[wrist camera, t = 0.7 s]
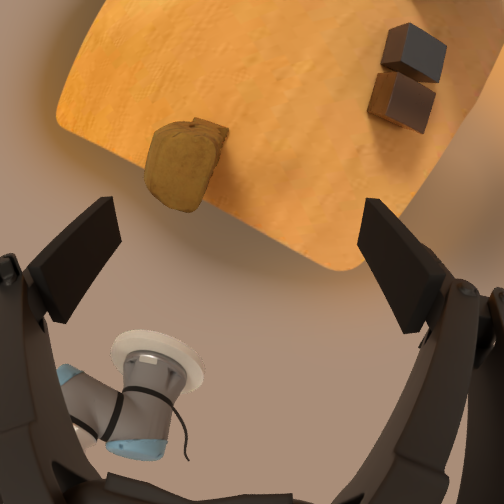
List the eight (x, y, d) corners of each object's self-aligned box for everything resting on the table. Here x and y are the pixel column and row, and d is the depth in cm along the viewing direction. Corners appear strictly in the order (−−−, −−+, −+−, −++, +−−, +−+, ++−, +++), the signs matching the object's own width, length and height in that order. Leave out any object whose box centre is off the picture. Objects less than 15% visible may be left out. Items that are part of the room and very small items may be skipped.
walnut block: (402, 127, 33) (423, 134, 28) (366, 111, 32) (384, 115, 27) (413, 90, 30) (436, 93, 25) (377, 72, 29) (397, 71, 24)
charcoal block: (415, 82, 29) (438, 83, 24) (380, 63, 28) (400, 60, 23) (424, 48, 26) (447, 46, 21) (389, 29, 25) (409, 22, 20)
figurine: (217, 171, 37) (196, 217, 24) (172, 157, 36) (128, 196, 23) (234, 123, 34) (220, 142, 21) (186, 109, 33) (145, 121, 20)
